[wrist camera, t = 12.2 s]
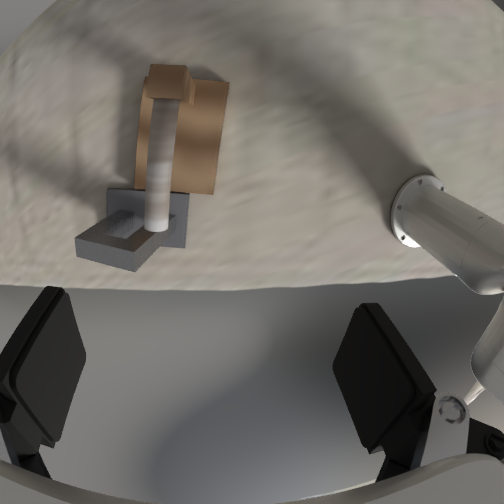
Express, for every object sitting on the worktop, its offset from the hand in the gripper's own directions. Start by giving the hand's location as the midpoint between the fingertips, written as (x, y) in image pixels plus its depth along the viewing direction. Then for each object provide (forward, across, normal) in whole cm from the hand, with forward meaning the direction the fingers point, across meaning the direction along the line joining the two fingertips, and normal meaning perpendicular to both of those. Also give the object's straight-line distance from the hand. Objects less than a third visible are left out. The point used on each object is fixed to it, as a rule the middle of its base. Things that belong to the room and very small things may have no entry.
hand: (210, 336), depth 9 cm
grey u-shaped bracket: (+29, +8, +8) cm, 31 cm away
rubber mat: (+29, +9, +8) cm, 32 cm away
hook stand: (+30, +5, -4) cm, 30 cm away
